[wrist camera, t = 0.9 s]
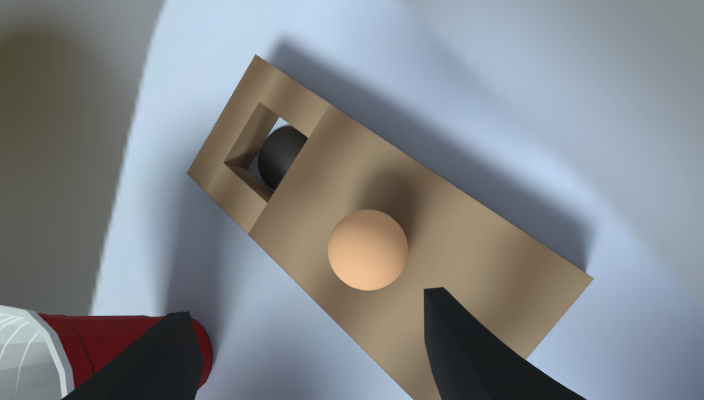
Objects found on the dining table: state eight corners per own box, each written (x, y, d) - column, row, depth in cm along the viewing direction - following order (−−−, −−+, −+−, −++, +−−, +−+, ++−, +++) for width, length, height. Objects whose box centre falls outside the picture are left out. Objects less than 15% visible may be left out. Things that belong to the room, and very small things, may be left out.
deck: (585, 274, 18) (593, 278, 16) (464, 419, 20) (455, 442, 18) (277, 69, 28) (255, 54, 26) (212, 178, 30) (186, 173, 27)
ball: (432, 242, 19) (411, 241, 15) (388, 301, 20) (358, 314, 16) (375, 198, 21) (343, 189, 17) (336, 254, 21) (298, 257, 18)
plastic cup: (247, 435, 26) (44, 574, 15) (143, 425, 30) (-73, 528, 19) (236, 276, 27) (50, 298, 17) (140, 289, 32) (-58, 313, 21)
